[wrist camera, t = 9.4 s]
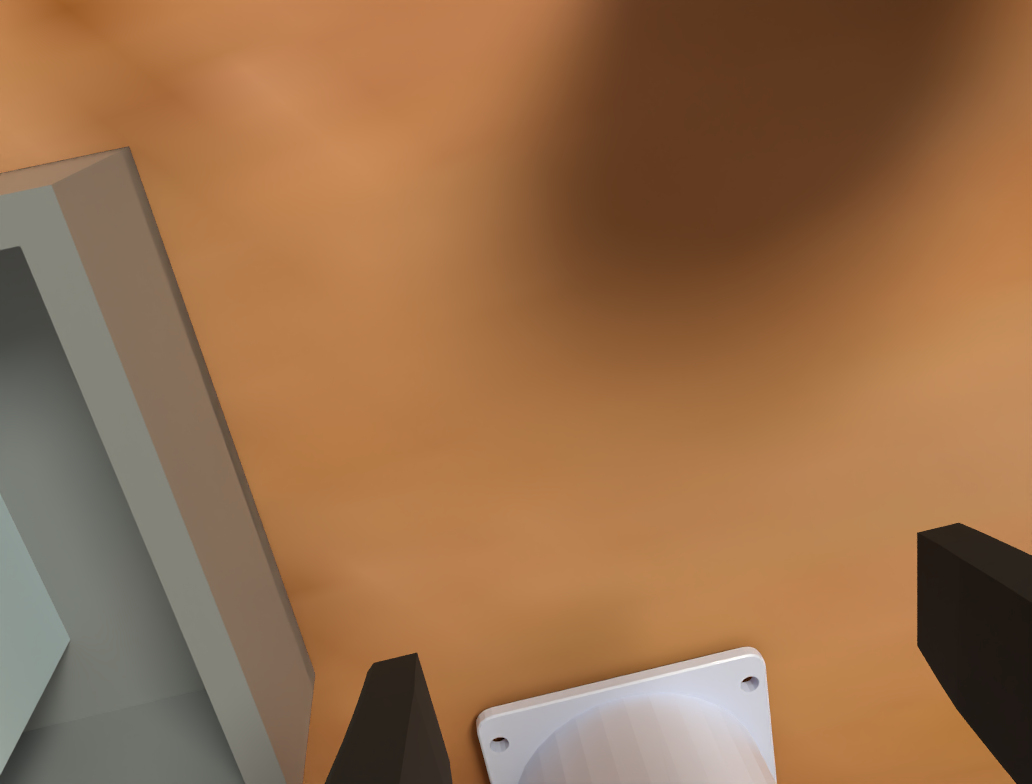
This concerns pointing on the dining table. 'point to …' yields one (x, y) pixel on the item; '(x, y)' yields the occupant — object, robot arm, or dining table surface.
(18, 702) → the small crate
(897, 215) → the dining table surface
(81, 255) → the big crate
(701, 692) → the robot arm
